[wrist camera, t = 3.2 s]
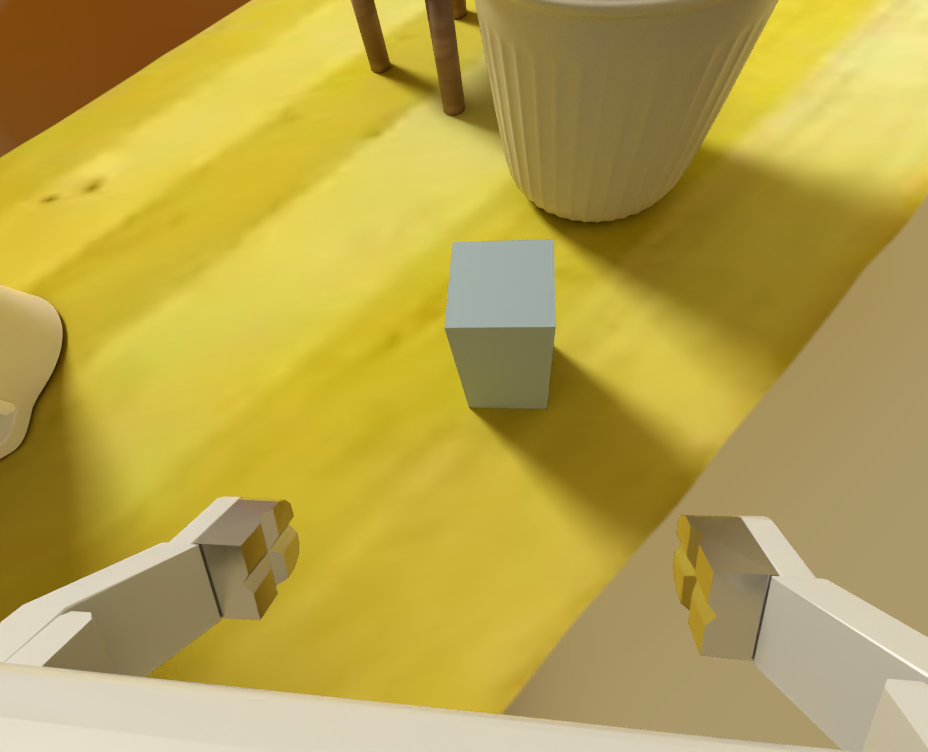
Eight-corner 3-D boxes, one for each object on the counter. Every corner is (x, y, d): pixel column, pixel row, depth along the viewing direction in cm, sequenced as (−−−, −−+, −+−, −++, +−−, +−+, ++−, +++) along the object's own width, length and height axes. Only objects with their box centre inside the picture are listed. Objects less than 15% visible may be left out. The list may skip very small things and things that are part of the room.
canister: (544, 297, 33) (566, -99, 14) (448, 147, 41) (380, -235, 22) (763, 201, 34) (1051, -281, 15) (628, 74, 42) (711, -348, 23)
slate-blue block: (546, 408, 30) (555, 327, 21) (469, 407, 30) (444, 327, 21) (546, 340, 32) (553, 239, 23) (473, 340, 32) (452, 242, 23)
